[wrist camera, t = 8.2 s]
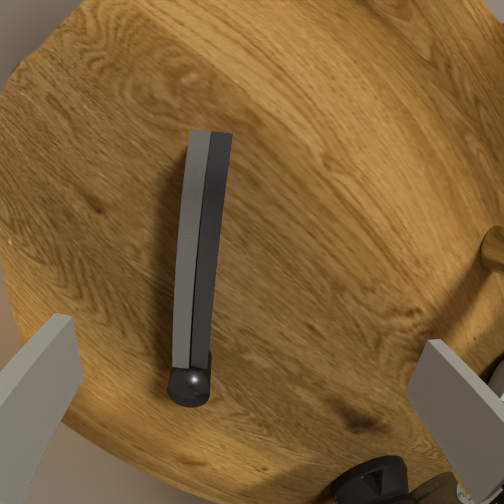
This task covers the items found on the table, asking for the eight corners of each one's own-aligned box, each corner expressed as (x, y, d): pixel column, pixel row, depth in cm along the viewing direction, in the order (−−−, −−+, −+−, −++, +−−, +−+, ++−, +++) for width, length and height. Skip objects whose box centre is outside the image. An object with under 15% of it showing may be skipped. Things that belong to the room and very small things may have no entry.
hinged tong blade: (193, 339, 31) (188, 368, 26) (179, 337, 31) (172, 366, 26) (214, 135, 25) (211, 131, 20) (197, 134, 25) (190, 128, 20)
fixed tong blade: (210, 371, 33) (208, 409, 27) (175, 368, 32) (167, 404, 27) (236, 138, 26) (238, 133, 20) (190, 133, 25) (180, 127, 20)
